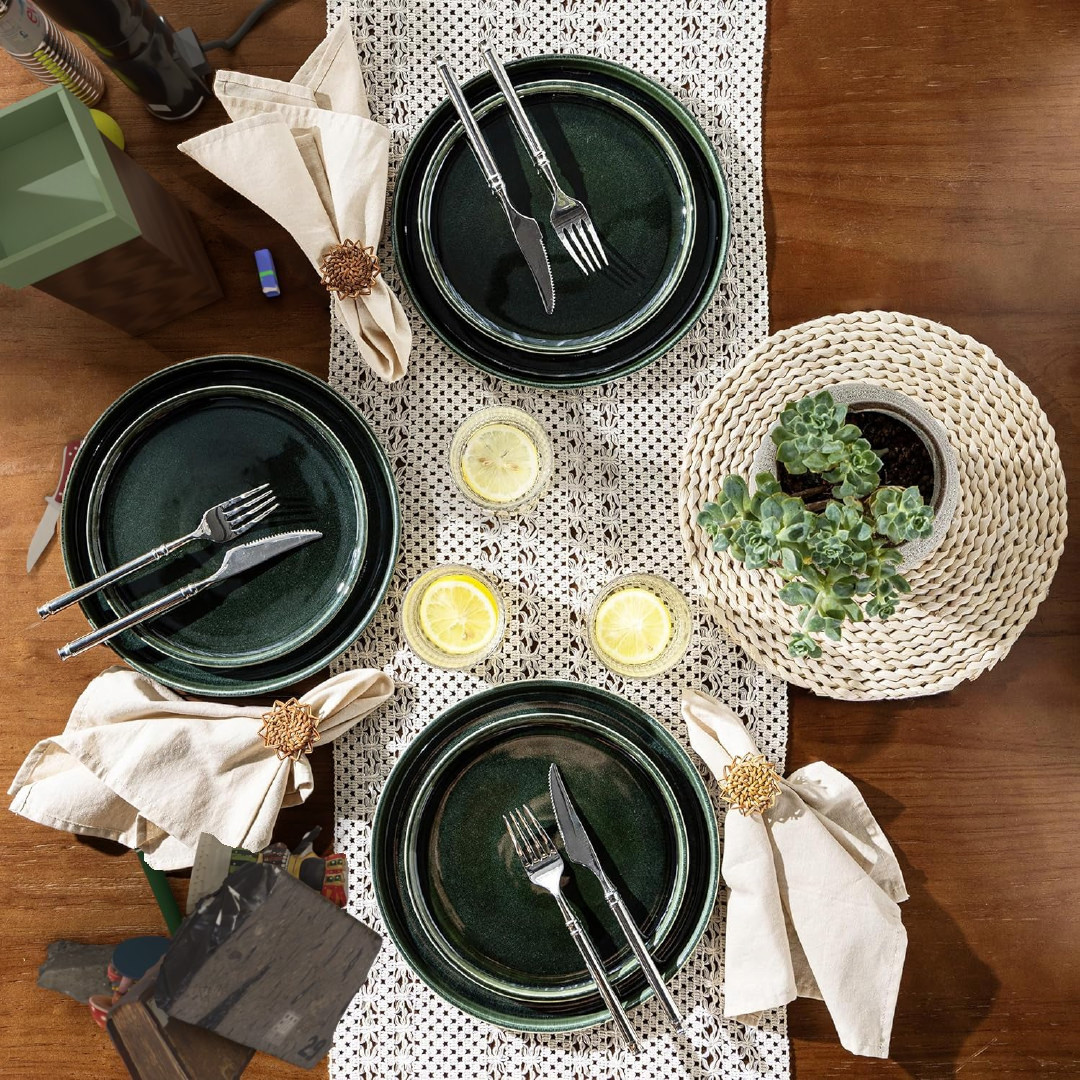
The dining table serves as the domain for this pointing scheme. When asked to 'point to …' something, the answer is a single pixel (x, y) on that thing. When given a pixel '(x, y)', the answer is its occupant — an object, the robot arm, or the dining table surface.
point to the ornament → (108, 127)
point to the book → (169, 1040)
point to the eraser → (267, 273)
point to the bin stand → (141, 261)
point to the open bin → (56, 189)
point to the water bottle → (47, 51)
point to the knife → (51, 509)
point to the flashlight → (162, 894)
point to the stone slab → (267, 964)
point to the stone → (78, 970)
